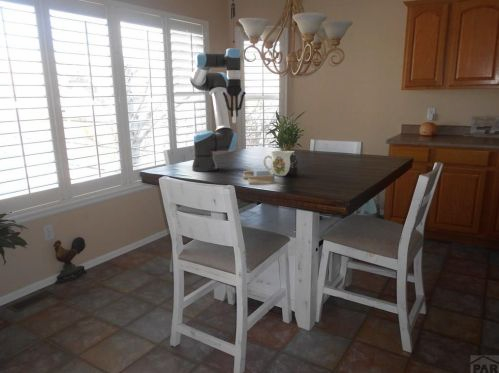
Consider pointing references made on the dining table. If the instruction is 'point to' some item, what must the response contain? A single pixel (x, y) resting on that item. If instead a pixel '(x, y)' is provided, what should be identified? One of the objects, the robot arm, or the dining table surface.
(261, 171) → the keeper
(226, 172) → the dining table surface
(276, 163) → the pitcher
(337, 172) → the dining table surface
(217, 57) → the robot arm
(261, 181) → the dock
